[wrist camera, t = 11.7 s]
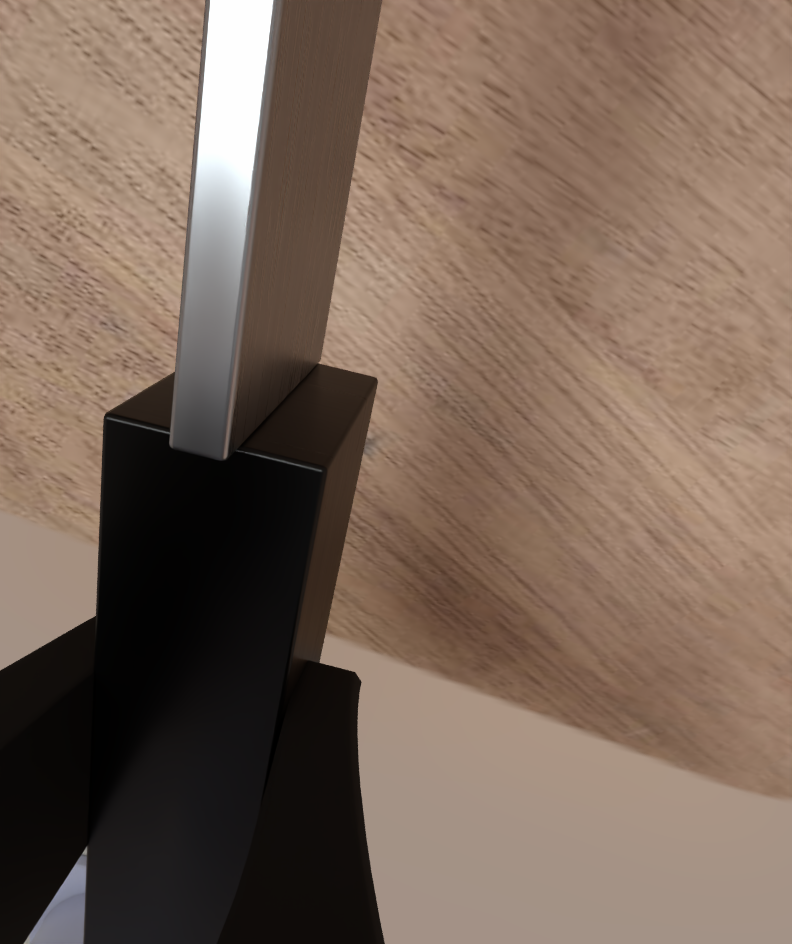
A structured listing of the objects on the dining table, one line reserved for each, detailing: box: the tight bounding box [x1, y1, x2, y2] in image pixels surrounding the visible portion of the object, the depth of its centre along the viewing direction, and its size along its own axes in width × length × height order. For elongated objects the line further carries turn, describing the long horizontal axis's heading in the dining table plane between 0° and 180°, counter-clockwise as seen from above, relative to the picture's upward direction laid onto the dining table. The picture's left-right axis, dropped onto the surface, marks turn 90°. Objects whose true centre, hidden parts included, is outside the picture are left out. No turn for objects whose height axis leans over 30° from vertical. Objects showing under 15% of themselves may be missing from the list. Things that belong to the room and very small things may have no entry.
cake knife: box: [83, 0, 382, 944], centre depth 6 cm, size 20×2×3 cm, turn 168°
